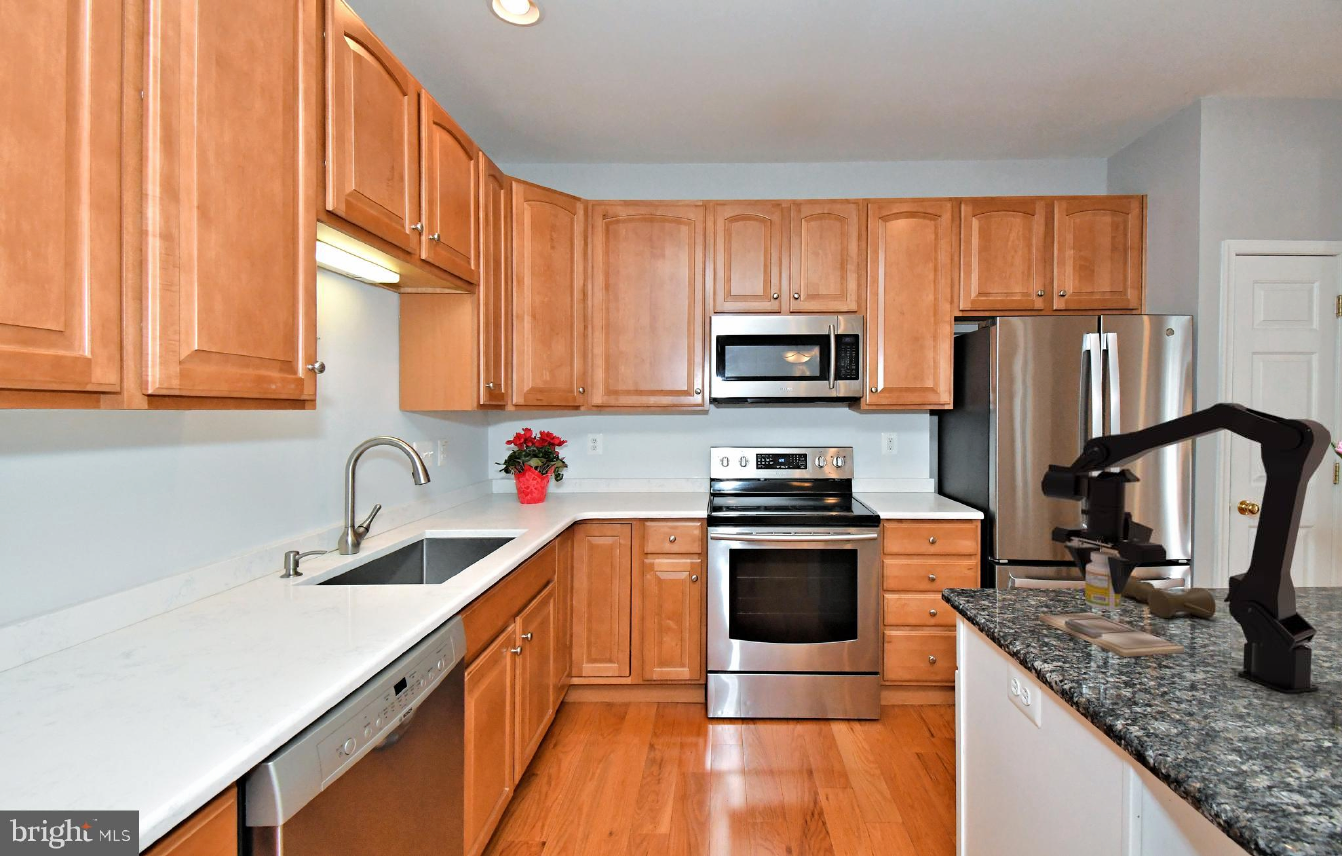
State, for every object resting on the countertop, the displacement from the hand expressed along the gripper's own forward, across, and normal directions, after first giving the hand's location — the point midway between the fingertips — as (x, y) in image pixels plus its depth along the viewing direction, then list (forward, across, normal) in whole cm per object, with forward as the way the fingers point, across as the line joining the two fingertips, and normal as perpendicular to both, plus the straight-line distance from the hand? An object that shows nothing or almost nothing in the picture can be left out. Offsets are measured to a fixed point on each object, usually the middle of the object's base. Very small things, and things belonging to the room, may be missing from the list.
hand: (1103, 589), depth 112 cm
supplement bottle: (+3, 0, 0) cm, 3 cm away
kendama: (+8, +8, -24) cm, 27 cm away
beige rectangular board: (+8, -2, +1) cm, 8 cm away
